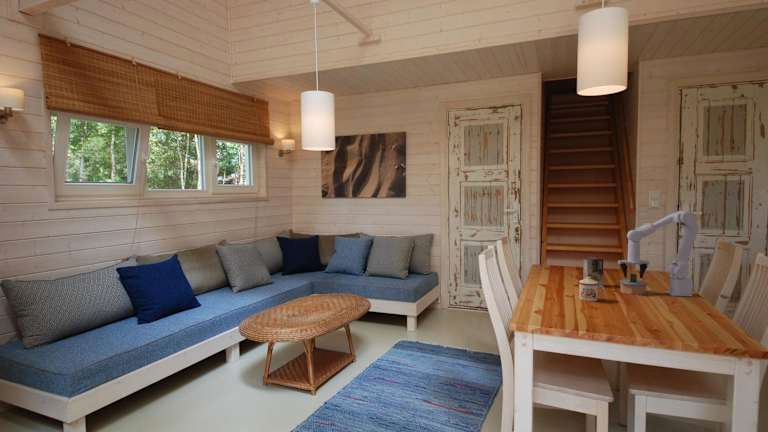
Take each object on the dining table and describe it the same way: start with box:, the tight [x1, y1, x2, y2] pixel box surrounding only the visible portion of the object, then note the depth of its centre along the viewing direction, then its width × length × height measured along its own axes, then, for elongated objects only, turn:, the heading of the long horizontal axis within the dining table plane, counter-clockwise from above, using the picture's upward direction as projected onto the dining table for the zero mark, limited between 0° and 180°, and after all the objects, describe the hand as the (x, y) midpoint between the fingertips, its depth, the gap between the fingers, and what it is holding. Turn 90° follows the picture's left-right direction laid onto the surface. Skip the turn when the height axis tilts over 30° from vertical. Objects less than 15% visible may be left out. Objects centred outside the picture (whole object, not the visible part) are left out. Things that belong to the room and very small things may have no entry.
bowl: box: [619, 283, 647, 296], centre depth 234 cm, size 11×11×5 cm
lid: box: [619, 273, 648, 287], centre depth 234 cm, size 13×13×5 cm
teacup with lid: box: [578, 277, 606, 302], centre depth 220 cm, size 12×9×12 cm
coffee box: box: [582, 256, 604, 287], centre depth 250 cm, size 9×6×16 cm
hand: (633, 277), depth 234 cm, fingers open, 7 cm apart
